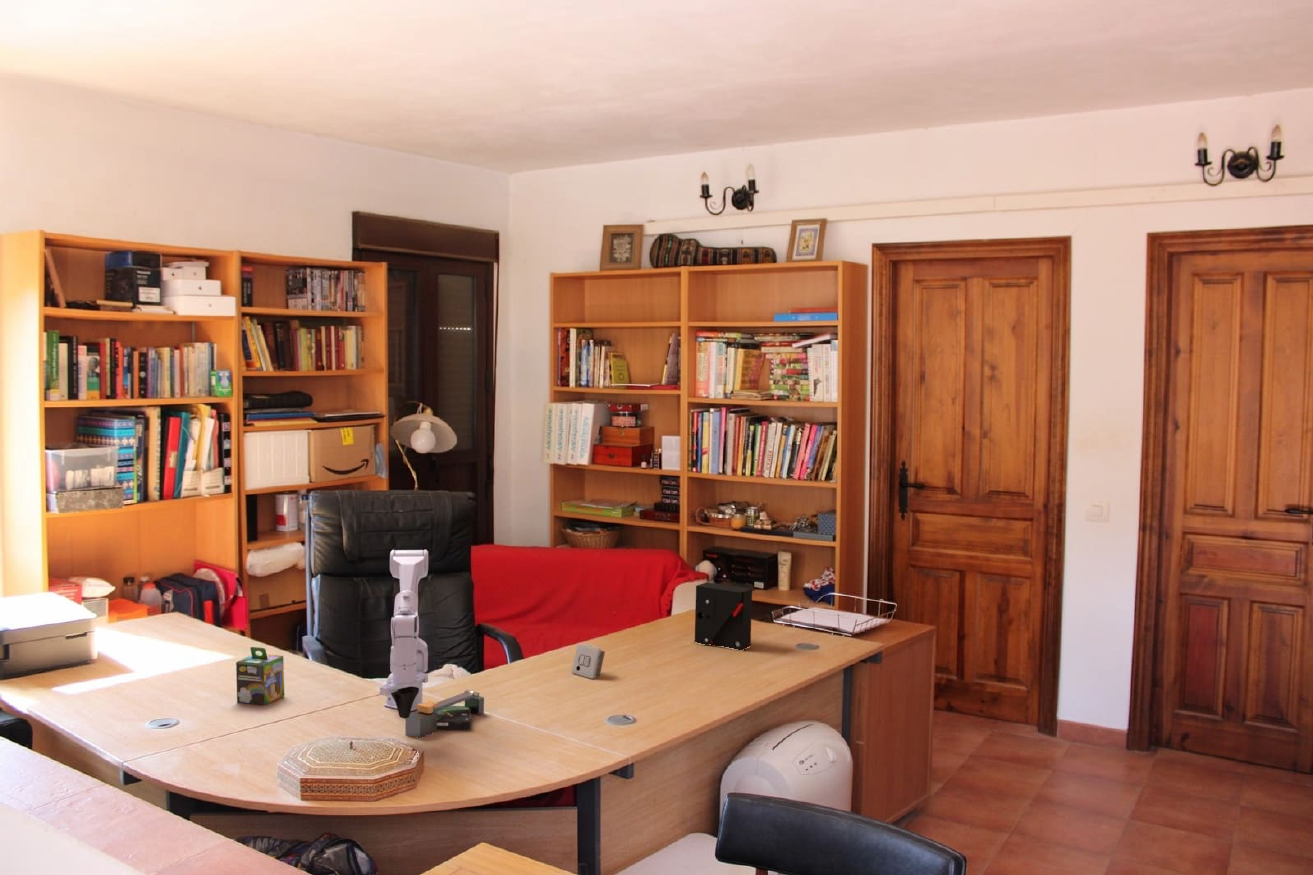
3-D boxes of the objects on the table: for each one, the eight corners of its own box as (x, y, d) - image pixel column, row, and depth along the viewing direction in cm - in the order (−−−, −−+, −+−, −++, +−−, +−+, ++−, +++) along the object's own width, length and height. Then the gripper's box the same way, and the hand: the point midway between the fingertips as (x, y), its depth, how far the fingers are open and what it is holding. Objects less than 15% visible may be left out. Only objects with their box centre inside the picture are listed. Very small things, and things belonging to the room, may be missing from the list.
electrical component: (753, 646, 363) (755, 587, 362) (739, 652, 354) (741, 592, 353) (708, 638, 372) (709, 581, 371) (693, 644, 364) (695, 586, 363)
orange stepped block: (416, 710, 271) (417, 704, 271) (427, 706, 274) (427, 700, 274) (428, 713, 269) (428, 707, 268) (439, 709, 272) (439, 703, 272)
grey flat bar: (421, 711, 272) (421, 706, 272) (467, 694, 287) (468, 689, 287) (432, 714, 270) (432, 709, 270) (479, 697, 285) (479, 691, 285)
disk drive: (471, 732, 273) (469, 715, 287) (472, 721, 273) (470, 705, 287) (430, 731, 270) (430, 715, 285) (430, 720, 270) (431, 704, 285)
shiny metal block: (405, 734, 268) (405, 715, 268) (469, 710, 289) (469, 691, 288) (420, 738, 266) (420, 719, 265) (483, 713, 286) (484, 695, 286)
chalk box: (285, 696, 297) (285, 644, 296) (264, 706, 288) (264, 652, 287) (256, 693, 300) (256, 641, 299) (235, 702, 291) (235, 649, 290)
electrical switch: (570, 673, 325) (573, 643, 325) (582, 672, 329) (585, 642, 329) (592, 680, 319) (595, 649, 319) (604, 678, 323) (607, 647, 323)
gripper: (395, 672, 255) (394, 728, 256) (437, 659, 267) (436, 712, 268) (373, 667, 259) (373, 722, 259) (416, 654, 271) (416, 707, 272)
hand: (404, 717), depth 264 cm, fingers closed
